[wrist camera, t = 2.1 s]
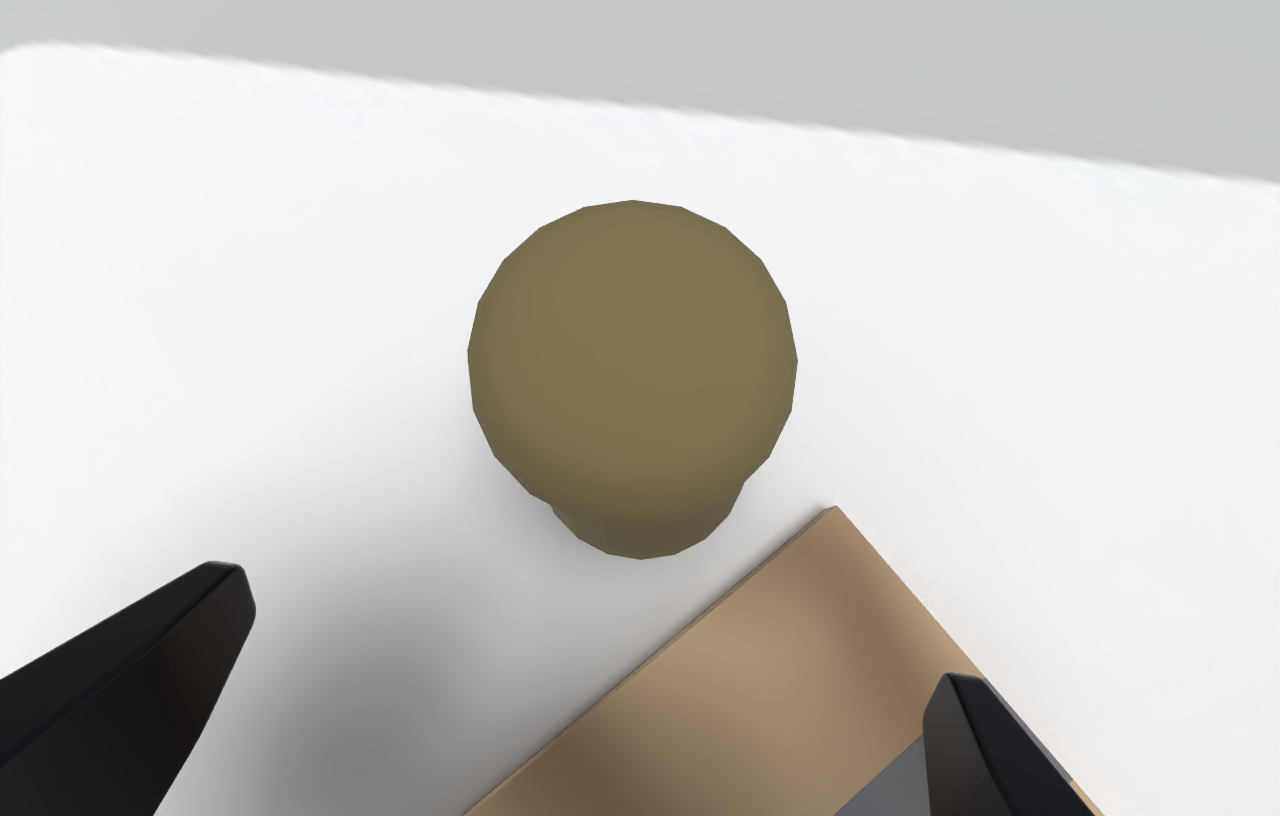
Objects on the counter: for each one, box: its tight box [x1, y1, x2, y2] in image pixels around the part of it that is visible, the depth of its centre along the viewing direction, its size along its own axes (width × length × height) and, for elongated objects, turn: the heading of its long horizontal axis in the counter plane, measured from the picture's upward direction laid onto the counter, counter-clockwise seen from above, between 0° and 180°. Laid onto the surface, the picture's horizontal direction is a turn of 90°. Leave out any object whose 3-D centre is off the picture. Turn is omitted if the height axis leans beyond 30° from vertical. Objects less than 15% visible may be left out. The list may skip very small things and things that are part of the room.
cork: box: [467, 200, 798, 560], centre depth 15 cm, size 6×6×11 cm
